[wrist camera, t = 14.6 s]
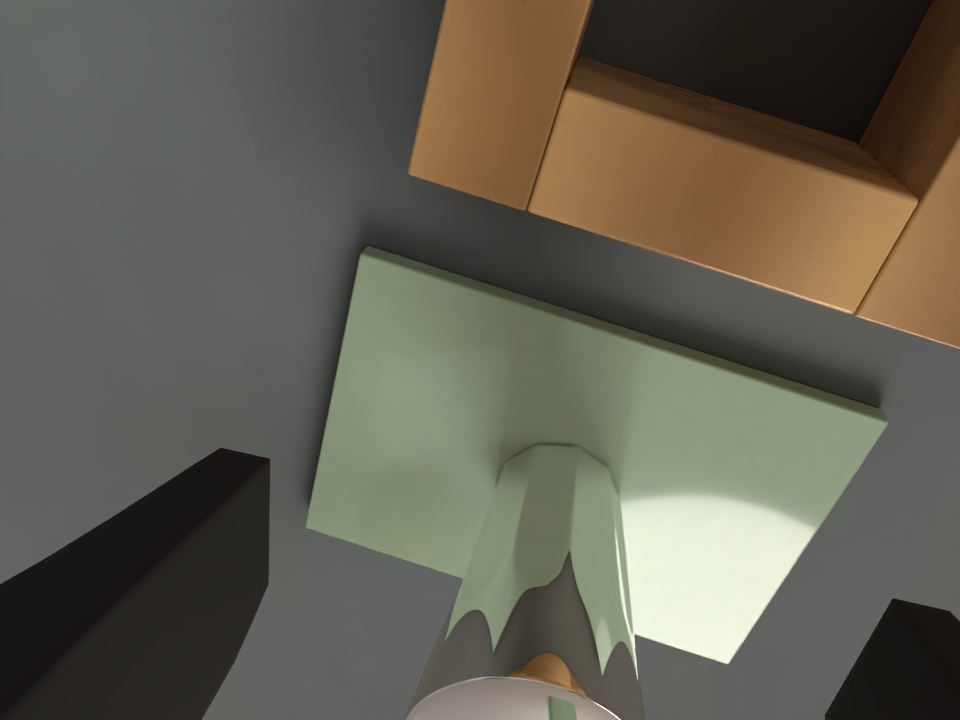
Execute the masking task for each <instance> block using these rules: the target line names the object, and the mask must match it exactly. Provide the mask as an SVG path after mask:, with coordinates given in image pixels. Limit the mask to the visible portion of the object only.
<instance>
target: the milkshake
mask: <svg viewBox="0 0 960 720" xmlns="http://www.w3.org/2000/svg"><path fill="white" fill-rule="evenodd" d="M404 720H645V712H644V705H643V698H642V691H641V684H640V677H639V670H638V663H637V656H636V648H635V640H634V630H633V620H632V610H631V600H630V590H629V580H628V570H627V560H626V551H625V541H624V531H623V521H622V511H621V503H620V498H619V495H618V492H617V490H616V487H615V484H614V481H613V478H612V475H611V472H610V469H609V467H607V466H606V465H604V464H603V463H601V462H600V461H598V460H597V459H595V458H594V457H592V456H591V455H589V454H588V453H586V452H585V451H583V450H582V449H581V448H579V447H578V446H564V445H548V444H536V445H535V446H533V447H531V448H529V449H527V450H526V451H524V452H522V453H520V454H518V455H516V456H514V457H513V458H511V459H509V460H507V461H506V462H505V465H504V467H503V470H502V473H501V476H500V478H499V481H498V484H497V486H496V489H495V491H494V494H493V497H492V499H491V502H490V505H489V508H488V511H487V513H486V516H485V519H484V522H483V525H482V527H481V530H480V533H479V536H478V539H477V542H476V544H475V547H474V550H473V553H472V556H471V558H470V561H469V564H468V567H467V570H466V572H465V575H464V578H463V581H462V583H461V586H460V589H459V592H458V594H457V596H456V598H455V601H454V603H453V605H452V607H451V609H450V611H449V614H448V616H447V618H446V620H445V622H444V624H443V627H442V629H441V631H440V634H439V636H438V638H437V641H436V643H435V646H434V648H433V650H432V653H431V655H430V658H429V660H428V663H427V665H426V668H425V670H424V672H423V675H422V677H421V680H420V682H419V685H418V687H417V690H416V692H415V695H414V697H413V699H412V702H411V704H410V707H409V709H408V712H407V714H406V717H405V719H404Z"/></svg>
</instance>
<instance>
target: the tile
mask: <svg viewBox="0 0 960 720" xmlns="http://www.w3.org/2000/svg"><path fill="white" fill-rule="evenodd" d="M887 425H888V419H887V418H886V416H885V414H884V412H883V411H882V410H881V409H878V408H875V407H872V406H869V405H866V404H863V403H860V402H857V401H853V400H850V399H847V398H844V397H841V396H838V395H835V394H831V393H828V392H825V391H822V390H819V389H816V388H813V387H809V386H806V385H803V384H800V383H797V382H794V381H791V380H788V379H784V378H781V377H778V376H775V375H772V374H769V373H766V372H762V371H759V370H756V369H753V368H750V367H747V366H744V365H741V364H737V363H734V362H731V361H728V360H725V359H722V358H719V357H715V356H712V355H709V354H706V353H703V352H700V351H697V350H694V349H690V348H687V347H684V346H681V345H678V344H675V343H672V342H668V341H665V340H662V339H659V338H656V337H653V336H650V335H646V334H643V333H640V332H637V331H634V330H631V329H628V328H625V327H621V326H618V325H615V324H612V323H609V322H606V321H603V320H599V319H596V318H593V317H590V316H587V315H584V314H581V313H578V312H574V311H571V310H568V309H565V308H562V307H559V306H556V305H552V304H549V303H546V302H543V301H540V300H537V299H534V298H530V297H527V296H524V295H521V294H518V293H515V292H512V291H509V290H505V289H502V288H499V287H496V286H493V285H490V284H487V283H483V282H480V281H477V280H474V279H471V278H468V277H465V276H462V275H458V274H455V273H452V272H449V271H446V270H443V269H440V268H436V267H433V266H430V265H427V264H424V263H421V262H418V261H414V260H411V259H408V258H405V257H402V256H399V255H396V254H393V253H389V252H386V251H383V250H380V249H377V248H374V247H371V246H366V248H365V249H364V250H363V251H362V252H361V254H360V256H359V261H358V266H357V271H356V276H355V281H354V286H353V291H352V296H351V301H350V306H349V311H348V316H347V321H346V326H345V331H344V336H343V341H342V346H341V351H340V356H339V361H338V366H337V371H336V376H335V381H334V386H333V390H332V395H331V400H330V405H329V410H328V415H327V420H326V425H325V430H324V435H323V440H322V445H321V450H320V455H319V460H318V465H317V470H316V475H315V480H314V485H313V490H312V495H311V500H310V505H309V510H308V515H307V520H306V524H305V526H306V528H308V529H311V530H314V531H318V532H321V533H324V534H327V535H330V536H333V537H336V538H339V539H342V540H345V541H348V542H351V543H354V544H358V545H361V546H364V547H367V548H370V549H373V550H376V551H379V552H382V553H385V554H388V555H391V556H394V557H398V558H401V559H404V560H407V561H410V562H413V563H416V564H419V565H422V566H425V567H428V568H431V569H435V570H438V571H441V572H444V573H447V574H450V575H453V576H456V577H459V578H462V579H463V578H464V575H465V572H466V570H467V567H468V564H469V561H470V558H471V556H472V553H473V550H474V547H475V544H476V542H477V539H478V536H479V533H480V530H481V527H482V525H483V522H484V519H485V516H486V513H487V511H488V508H489V505H490V502H491V499H492V497H493V494H494V491H495V489H496V486H497V484H498V481H499V478H500V476H501V473H502V470H503V467H504V465H505V462H506V461H507V460H509V459H511V458H513V457H514V456H516V455H518V454H520V453H522V452H524V451H526V450H527V449H529V448H531V447H533V446H535V445H536V444H548V445H564V446H578V447H579V448H581V449H582V450H583V451H585V452H586V453H588V454H589V455H591V456H592V457H594V458H595V459H597V460H598V461H600V462H601V463H603V464H604V465H606V466H607V467H609V469H610V472H611V475H612V478H613V481H614V484H615V487H616V490H617V492H618V495H619V498H620V503H621V511H622V521H623V531H624V541H625V551H626V560H627V570H628V580H629V590H630V600H631V610H632V620H633V630H634V634H635V635H638V636H641V637H644V638H647V639H650V640H653V641H656V642H659V643H662V644H665V645H669V646H672V647H675V648H678V649H681V650H684V651H687V652H690V653H693V654H696V655H699V656H702V657H706V658H709V659H712V660H715V661H718V662H721V663H724V664H729V663H730V662H731V660H732V659H733V657H734V656H735V654H736V653H737V651H738V650H739V648H740V647H741V645H742V644H743V642H744V641H745V639H746V638H747V636H748V635H749V633H750V632H751V630H752V628H753V627H754V625H755V624H756V622H757V621H758V619H759V618H760V616H761V615H762V613H763V612H764V610H765V609H766V607H767V606H768V604H769V603H770V601H771V600H772V598H773V597H774V595H775V594H776V592H777V591H778V589H779V588H780V586H781V585H782V583H783V582H784V580H785V579H786V577H787V576H788V574H789V573H790V571H791V570H792V568H793V567H794V565H795V564H796V562H797V561H798V559H799V558H800V556H801V555H802V553H803V551H804V550H805V548H806V547H807V545H808V544H809V542H810V541H811V539H812V538H813V536H814V535H815V533H816V532H817V530H818V529H819V527H820V526H821V524H822V523H823V521H824V520H825V518H826V517H827V515H828V514H829V512H830V511H831V509H832V508H833V506H834V505H835V503H836V502H837V500H838V499H839V497H840V496H841V494H842V493H843V491H844V490H845V488H846V487H847V485H848V484H849V482H850V481H851V479H852V478H853V476H854V474H855V473H856V471H857V470H858V468H859V467H860V465H861V464H862V462H863V461H864V459H865V458H866V456H867V455H868V453H869V452H870V450H871V449H872V447H873V446H874V444H875V443H876V441H877V440H878V438H879V437H880V435H881V434H882V432H883V431H884V429H885V428H886V426H887Z"/></svg>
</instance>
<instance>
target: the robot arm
mask: <svg viewBox="0 0 960 720" xmlns="http://www.w3.org/2000/svg"><path fill="white" fill-rule="evenodd" d="M269 501H270V459H268V458H264V457H260V456H255V455H251V454H246V453H242V452H237V451H233V450H228V449H224V448H220V449H218V450H217V451H215V452H213V453H212V454H210V455H209V456H207V457H205V458H204V459H202V460H200V461H199V462H197V463H196V464H194V465H192V466H191V467H189V468H188V469H186V470H185V471H183V472H182V473H180V474H178V475H177V476H175V477H174V478H172V479H171V480H169V481H168V482H166V483H165V484H163V485H161V486H160V487H158V488H157V489H155V490H154V491H152V492H151V493H149V494H148V495H146V496H144V497H143V498H141V499H140V500H138V501H137V502H135V503H134V504H132V505H130V506H129V507H127V508H126V509H124V510H123V511H121V512H120V513H118V514H116V515H115V516H113V517H112V518H110V519H108V520H107V521H105V522H104V523H102V524H100V525H99V526H97V527H96V528H94V529H92V530H91V531H89V532H87V533H86V534H84V535H83V536H81V537H79V538H78V539H76V540H75V541H73V542H71V543H70V544H68V545H66V546H65V547H63V548H62V549H60V550H58V551H57V552H55V553H54V554H52V555H50V556H49V557H47V558H45V559H44V560H42V561H40V562H39V563H37V564H35V565H33V566H32V567H30V568H28V569H26V570H24V571H23V572H21V573H19V574H17V575H16V576H14V577H12V578H10V579H9V580H7V581H5V582H3V583H2V584H0V720H201V719H202V718H203V716H204V714H205V713H206V711H207V709H208V707H209V706H210V704H211V702H212V700H213V699H214V697H215V695H216V693H217V692H218V690H219V688H220V687H221V685H222V683H223V681H224V680H225V678H226V676H227V674H228V672H229V671H230V669H231V667H232V665H233V664H234V662H235V659H236V657H237V655H238V653H239V651H240V648H241V646H242V644H243V642H244V639H245V637H246V635H247V633H248V631H249V628H250V626H251V624H252V621H253V619H254V617H255V614H256V612H257V610H258V607H259V605H260V603H261V600H262V598H263V595H264V593H265V591H266V588H267V586H268V573H269ZM825 720H960V621H959V620H958V619H957V618H956V617H955V616H954V615H953V614H952V613H951V612H950V611H947V610H942V609H938V608H933V607H929V606H924V605H920V604H916V603H911V602H907V601H902V600H898V599H892V601H891V602H890V604H889V606H888V608H887V609H886V611H885V613H884V614H883V616H882V618H881V620H880V621H879V623H878V625H877V626H876V628H875V630H874V632H873V633H872V635H871V637H870V639H869V640H868V642H867V644H866V645H865V647H864V649H863V651H862V652H861V654H860V656H859V657H858V659H857V661H856V663H855V664H854V666H853V668H852V669H851V671H850V673H849V675H848V676H847V678H846V680H845V681H844V683H843V685H842V687H841V688H840V690H839V692H838V693H837V695H836V697H835V699H834V700H833V702H832V704H831V705H830V707H829V709H828V711H827V712H826V714H825Z"/></svg>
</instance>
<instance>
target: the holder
mask: <svg viewBox="0 0 960 720" xmlns="http://www.w3.org/2000/svg"><path fill="white" fill-rule="evenodd" d="M594 2H595V0H446V1H445V5H444V10H443V14H442V19H441V23H440V28H439V32H438V37H437V41H436V46H435V50H434V55H433V59H432V64H431V68H430V73H429V77H428V82H427V86H426V91H425V95H424V100H423V104H422V109H421V113H420V118H419V122H418V127H417V131H416V136H415V140H414V145H413V149H412V154H411V158H410V163H409V167H408V173H409V174H410V175H412V176H415V177H418V178H421V179H425V180H428V181H431V182H434V183H437V184H440V185H443V186H447V187H450V188H453V189H456V190H459V191H462V192H465V193H469V194H472V195H475V196H478V197H481V198H484V199H488V200H491V201H494V202H497V203H500V204H503V205H506V206H510V207H513V208H516V209H519V210H526V209H527V207H528V211H529V212H531V213H533V214H536V215H539V216H542V217H545V218H549V219H552V220H555V221H558V222H561V223H564V224H568V225H571V226H574V227H577V228H580V229H583V230H586V231H590V232H593V233H596V234H599V235H602V236H605V237H608V238H612V239H615V240H618V241H621V242H624V243H627V244H631V245H634V246H637V247H640V248H643V249H646V250H649V251H653V252H656V253H659V254H662V255H665V256H668V257H672V258H675V259H678V260H681V261H684V262H687V263H690V264H694V265H697V266H700V267H703V268H706V269H709V270H712V271H716V272H719V273H722V274H725V275H728V276H731V277H735V278H738V279H741V280H744V281H747V282H750V283H753V284H757V285H760V286H763V287H766V288H769V289H772V290H775V291H779V292H782V293H785V294H788V295H791V296H794V297H798V298H801V299H804V300H807V301H810V302H813V303H816V304H820V305H823V306H826V307H829V308H832V309H835V310H838V311H842V312H845V313H848V314H853V313H854V315H855V316H856V317H858V318H862V319H865V320H868V321H871V322H874V323H877V324H881V325H884V326H887V327H890V328H893V329H896V330H899V331H903V332H906V333H909V334H912V335H915V336H918V337H921V338H925V339H928V340H931V341H934V342H937V343H940V344H944V345H947V346H950V347H953V348H956V349H959V350H960V0H933V1H932V3H931V5H930V7H929V9H928V11H927V13H926V15H925V17H924V19H923V21H922V23H921V24H920V26H919V28H918V30H917V32H916V34H915V36H914V38H913V40H912V42H911V44H910V46H909V48H908V50H907V51H906V53H905V55H904V57H903V59H902V61H901V63H900V65H899V67H898V69H897V71H896V73H895V75H894V77H893V78H892V80H891V82H890V84H889V86H888V88H887V90H886V92H885V94H884V96H883V98H882V100H881V102H880V103H879V105H878V107H877V109H876V111H875V113H874V115H873V117H872V119H871V121H870V123H869V125H868V127H867V129H866V130H865V132H864V134H863V136H862V138H861V140H860V142H859V144H857V143H855V142H853V141H850V140H847V139H844V138H840V137H837V136H834V135H831V134H828V133H824V132H821V131H818V130H815V129H812V128H809V127H805V126H802V125H799V124H796V123H793V122H789V121H786V120H783V119H780V118H777V117H774V116H770V115H767V114H764V113H761V112H758V111H754V110H751V109H748V108H745V107H742V106H739V105H735V104H732V103H729V102H726V101H723V100H719V99H716V98H713V97H710V96H707V95H704V94H700V93H697V92H694V91H691V90H688V89H684V88H681V87H678V86H675V85H672V84H668V83H665V82H662V81H659V80H656V79H653V78H649V77H646V76H643V75H640V74H637V73H633V72H630V71H627V70H624V69H621V68H618V67H614V66H611V65H608V64H605V63H602V62H598V61H595V60H592V59H589V58H586V57H583V56H582V57H578V53H579V50H580V47H581V44H582V41H583V37H584V34H585V31H586V28H587V25H588V21H589V18H590V15H591V12H592V9H593V6H594ZM577 57H578V59H577Z"/></svg>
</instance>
